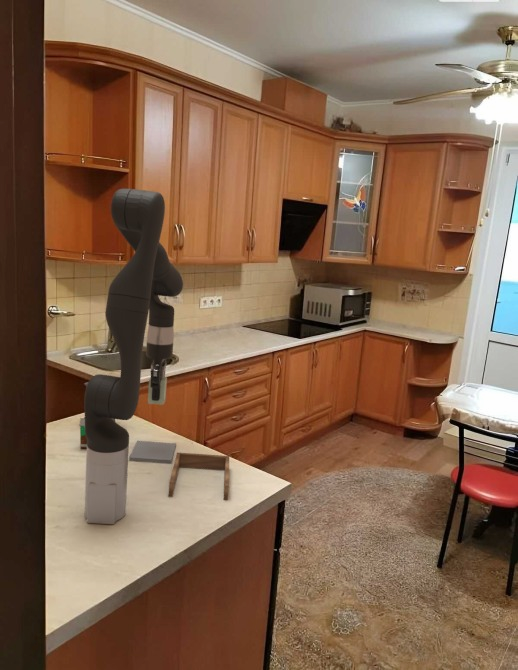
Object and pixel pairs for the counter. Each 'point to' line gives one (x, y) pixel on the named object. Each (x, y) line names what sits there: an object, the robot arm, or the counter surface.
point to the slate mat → (153, 452)
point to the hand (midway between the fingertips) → (156, 397)
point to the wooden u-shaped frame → (200, 467)
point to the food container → (82, 434)
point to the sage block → (162, 392)
